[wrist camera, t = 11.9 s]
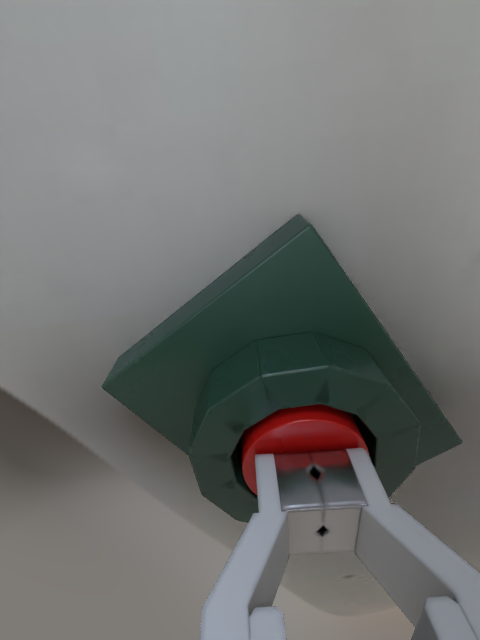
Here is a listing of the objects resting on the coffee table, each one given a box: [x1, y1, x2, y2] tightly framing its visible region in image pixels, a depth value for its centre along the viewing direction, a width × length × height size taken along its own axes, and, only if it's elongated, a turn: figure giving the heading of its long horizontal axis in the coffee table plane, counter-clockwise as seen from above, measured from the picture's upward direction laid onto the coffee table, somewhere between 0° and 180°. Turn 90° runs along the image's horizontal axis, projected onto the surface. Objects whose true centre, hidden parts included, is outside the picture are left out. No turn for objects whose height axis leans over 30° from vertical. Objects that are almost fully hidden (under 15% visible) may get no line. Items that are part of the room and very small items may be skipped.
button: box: [241, 404, 369, 496], centre depth 10 cm, size 4×4×2 cm
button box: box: [102, 214, 462, 523], centre depth 11 cm, size 10×8×4 cm
